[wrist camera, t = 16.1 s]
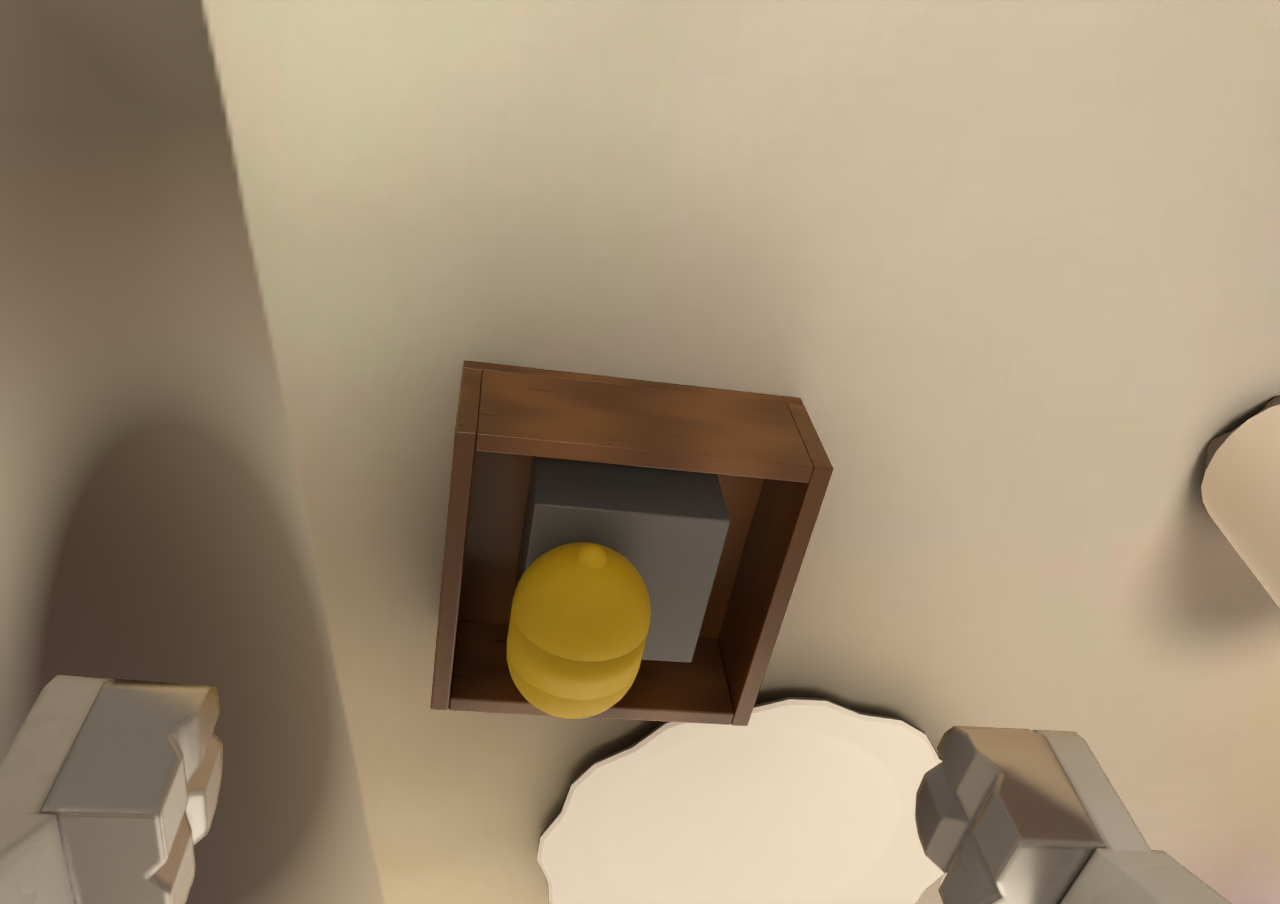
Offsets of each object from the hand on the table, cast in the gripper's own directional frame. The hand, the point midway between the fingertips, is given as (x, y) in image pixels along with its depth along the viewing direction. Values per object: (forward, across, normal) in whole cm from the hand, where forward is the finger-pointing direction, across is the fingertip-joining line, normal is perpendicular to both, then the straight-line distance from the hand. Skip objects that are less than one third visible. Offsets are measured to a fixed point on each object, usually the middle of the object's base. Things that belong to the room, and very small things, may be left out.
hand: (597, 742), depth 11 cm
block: (+28, -5, +18) cm, 34 cm away
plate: (+29, -17, +40) cm, 52 cm away
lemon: (+23, -5, +18) cm, 30 cm away
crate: (+29, -5, +18) cm, 35 cm away
